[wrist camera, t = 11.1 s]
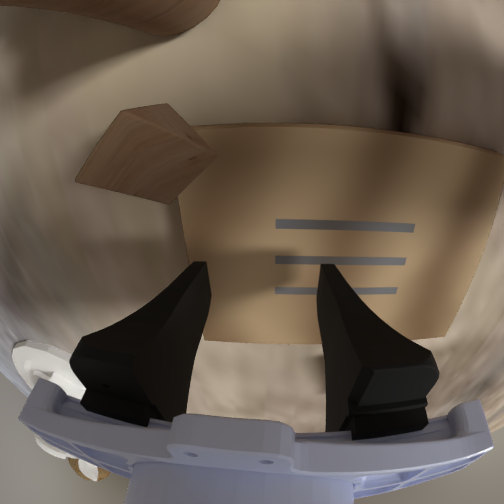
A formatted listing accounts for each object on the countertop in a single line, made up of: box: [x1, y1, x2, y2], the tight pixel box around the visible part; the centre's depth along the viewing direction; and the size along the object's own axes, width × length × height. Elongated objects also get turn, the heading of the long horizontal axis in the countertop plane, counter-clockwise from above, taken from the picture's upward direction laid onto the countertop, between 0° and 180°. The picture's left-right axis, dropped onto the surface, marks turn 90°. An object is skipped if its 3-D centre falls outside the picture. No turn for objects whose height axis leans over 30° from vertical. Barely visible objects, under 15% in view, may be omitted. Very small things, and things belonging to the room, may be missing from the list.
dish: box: [12, 340, 98, 481], centre depth 27 cm, size 25×25×11 cm
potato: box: [68, 457, 110, 481], centre depth 38 cm, size 9×9×10 cm
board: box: [178, 123, 504, 344], centre depth 15 cm, size 17×13×1 cm
